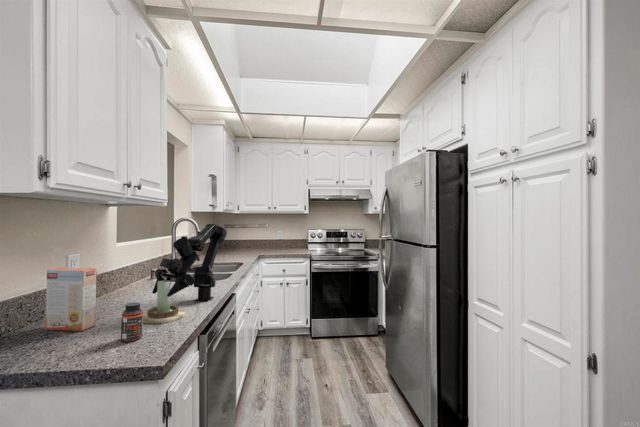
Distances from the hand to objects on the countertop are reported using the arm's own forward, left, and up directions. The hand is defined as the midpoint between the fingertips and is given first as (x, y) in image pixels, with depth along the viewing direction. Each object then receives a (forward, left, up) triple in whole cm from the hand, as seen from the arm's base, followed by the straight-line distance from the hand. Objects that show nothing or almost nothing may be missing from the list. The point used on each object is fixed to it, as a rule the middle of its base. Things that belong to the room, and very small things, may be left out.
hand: (160, 294), depth 116 cm
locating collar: (-1, 0, -9) cm, 9 cm away
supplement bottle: (+20, +4, -9) cm, 22 cm away
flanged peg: (-1, 0, -8) cm, 8 cm away
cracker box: (+15, -24, -9) cm, 29 cm away
